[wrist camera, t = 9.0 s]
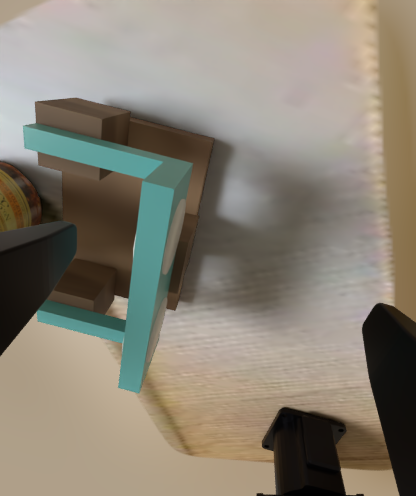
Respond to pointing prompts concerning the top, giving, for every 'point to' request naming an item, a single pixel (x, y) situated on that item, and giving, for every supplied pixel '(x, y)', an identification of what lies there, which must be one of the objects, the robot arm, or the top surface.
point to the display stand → (115, 200)
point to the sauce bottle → (17, 200)
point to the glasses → (145, 245)
